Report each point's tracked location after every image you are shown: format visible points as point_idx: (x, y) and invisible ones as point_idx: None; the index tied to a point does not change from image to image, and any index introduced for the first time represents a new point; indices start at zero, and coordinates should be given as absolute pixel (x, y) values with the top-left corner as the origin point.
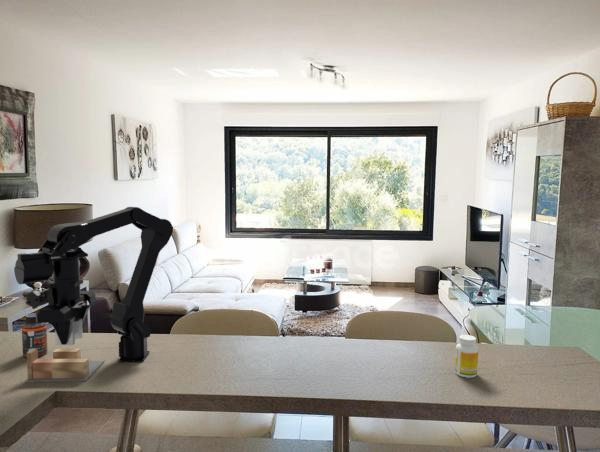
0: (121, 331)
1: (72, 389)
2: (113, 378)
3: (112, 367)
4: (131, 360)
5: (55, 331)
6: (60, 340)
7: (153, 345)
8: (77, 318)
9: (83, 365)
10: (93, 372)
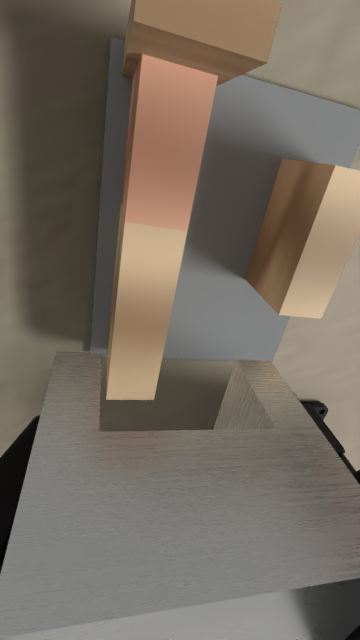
0: None
1: (5, 325)
2: (106, 424)
3: (208, 396)
4: None
5: (19, 503)
6: (10, 450)
7: (355, 449)
8: (350, 638)
9: (107, 380)
10: (164, 357)
